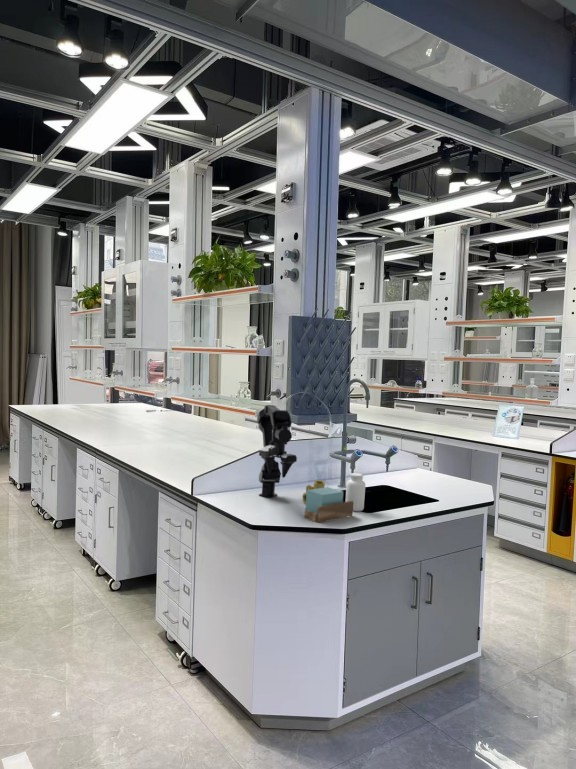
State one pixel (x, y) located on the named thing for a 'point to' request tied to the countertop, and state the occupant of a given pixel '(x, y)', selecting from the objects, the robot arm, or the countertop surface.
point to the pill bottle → (356, 491)
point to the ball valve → (314, 487)
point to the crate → (322, 498)
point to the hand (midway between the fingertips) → (276, 475)
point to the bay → (330, 512)
